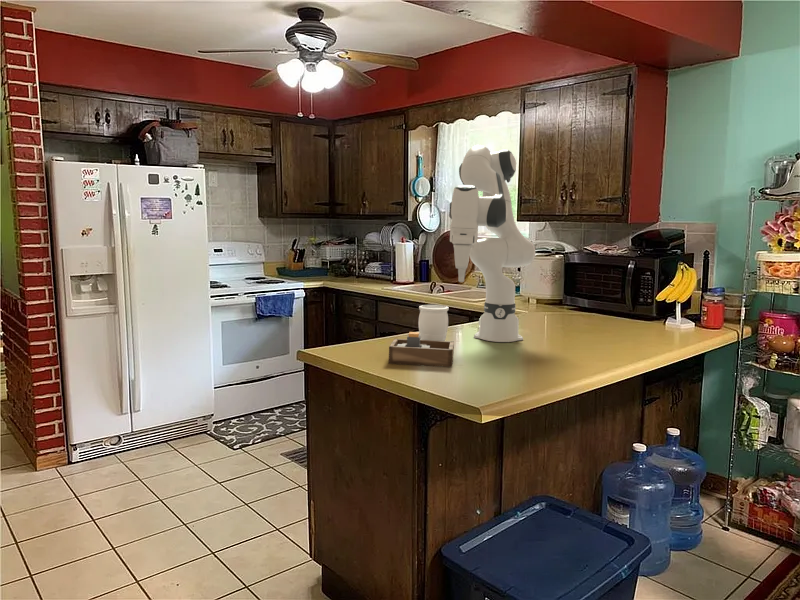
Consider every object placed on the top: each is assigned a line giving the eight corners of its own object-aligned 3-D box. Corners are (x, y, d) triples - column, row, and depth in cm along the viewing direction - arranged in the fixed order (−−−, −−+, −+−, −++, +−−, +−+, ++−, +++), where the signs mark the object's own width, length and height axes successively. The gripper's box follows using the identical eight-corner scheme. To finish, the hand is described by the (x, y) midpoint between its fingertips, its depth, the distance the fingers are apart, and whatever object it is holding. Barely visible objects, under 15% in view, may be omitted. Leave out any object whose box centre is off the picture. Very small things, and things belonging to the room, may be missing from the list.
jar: (449, 346, 221) (451, 305, 219) (444, 352, 211) (445, 309, 209) (421, 343, 224) (422, 303, 222) (414, 349, 214) (415, 307, 212)
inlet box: (394, 354, 206) (394, 338, 205) (453, 357, 203) (453, 341, 202) (388, 363, 193) (389, 346, 192) (451, 367, 190) (452, 350, 190)
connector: (407, 355, 200) (408, 331, 199) (420, 356, 200) (420, 332, 199) (406, 358, 197) (407, 333, 195) (418, 358, 196) (419, 334, 195)
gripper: (455, 234, 204) (453, 275, 207) (452, 238, 184) (450, 283, 187) (474, 235, 203) (472, 275, 206) (473, 239, 183) (470, 284, 186)
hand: (461, 279), depth 196 cm, fingers open, 8 cm apart
